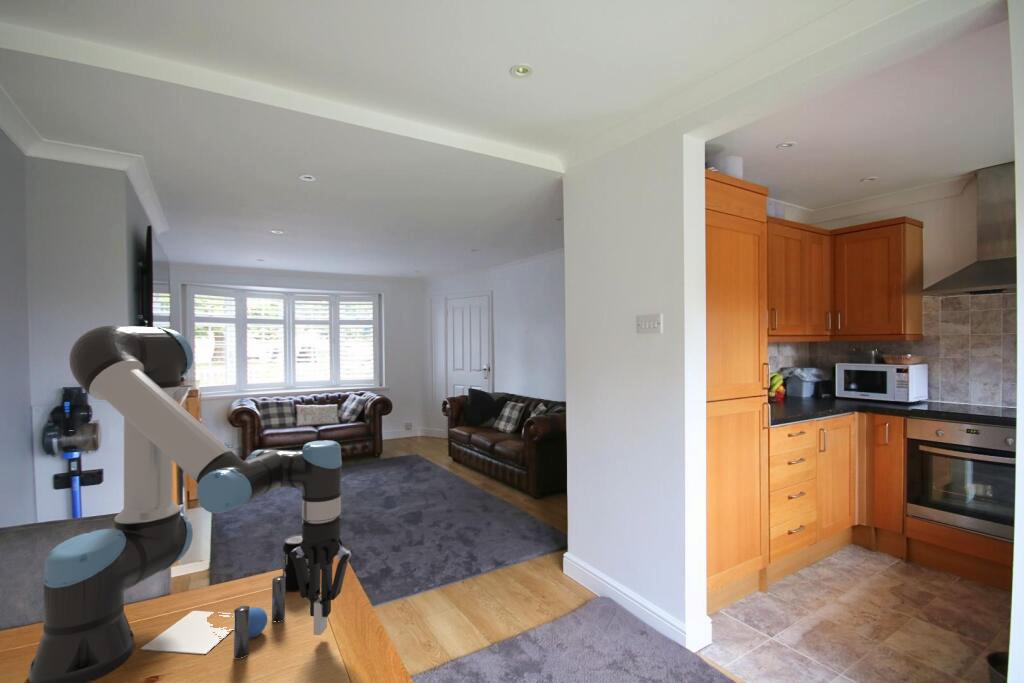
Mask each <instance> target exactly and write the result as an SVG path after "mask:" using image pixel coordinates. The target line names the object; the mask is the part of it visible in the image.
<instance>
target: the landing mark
mask: <svg viewBox="0 0 1024 683" xmlns="http://www.w3.org/2000/svg"><path fill="white" fill-rule="evenodd" d="M214 612H215V611H204V610H203V611H201V610H192V611H191V612H189V613H187V615H185V616H184V617H183V618H181V619H180V620H178V621H176V622H175V623H174V624H172V625H171V626H170V627H168V628H167V629H166V630H164V631H162V633H160V634H158V635H157V636H156V637H155V638H153V639H151V641H149V642H148V643H146V644H145V645H143V646H142V647H140V651H141V650H142V651H153V652H155V651H157V652H165V653H166V652H167V653H169V652H170V653H179V654H195V655H204V654H206V655H208V654H209V653H210V652H211V651H212V650H213V649H214V648H215V647H216V646H218V643H219V642H220V641H219V640H222V639H223V638H224V639H226V638H227V637H228V636H227V635H226V634H229V632H227V631H230V630H234V629H229V630H226V629H224V628H227V627H223V628H220V627H219V628H213V627H210V626H213V624H210V623H209V622H207V617H209V616H210V615H211V614H213V613H214ZM217 612H218V611H217ZM218 613H222V614H231V613H232V612H218ZM233 614H234V613H233ZM219 616H223V617H230V616H229V615H219ZM232 617H233V616H232ZM221 629H223V630H221ZM213 632H215V633H213ZM215 634H217V635H215ZM229 635H230V634H229ZM218 636H221V637H218ZM226 636H227V637H226ZM219 638H222V639H219ZM224 639H223V640H224ZM223 640H222V641H223ZM220 643H221V642H220ZM220 643H219V644H220ZM214 646H215V647H214ZM213 647H214V648H213ZM212 648H213V649H212ZM211 649H212V650H211ZM210 650H211V651H210Z"/></svg>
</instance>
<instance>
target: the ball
mask: <svg viewBox="0 0 1024 683" xmlns="http://www.w3.org/2000/svg"><path fill="white" fill-rule="evenodd" d="M267 623H268V614H267V612H266V611H265V610H264V609H263V608H261V607H251V608H250V609H249V639H251V638H254V637H257V636H258V635H260V634H261V633H262V632H263V631H264V630H265V628H266V626H267Z"/></svg>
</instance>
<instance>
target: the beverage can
mask: <svg viewBox="0 0 1024 683" xmlns="http://www.w3.org/2000/svg"><path fill="white" fill-rule="evenodd" d="M302 539H303V538H302V533H301V534H293V535H290V536H288V537H287V538H285V539H284V544H282V576H284V577H285V591H287V590H288V592H297V590H298V591H300V590H299V585H298V581H297V576H296V571H295V567H294V563H293V561H292V559H291V558H290V556H289V553H290V552H291V551H292V550H294V549H295V548H296V547H300V544H301V542H302ZM304 556H305V558H306V563H307V568H308V559H307V557H306V555H305V554H304ZM308 572H309V568H308Z"/></svg>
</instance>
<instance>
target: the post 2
mask: <svg viewBox="0 0 1024 683" xmlns="http://www.w3.org/2000/svg"><path fill="white" fill-rule="evenodd" d="M271 581H272V583H271V584H272V585H271V622H272V621H276V622H277V623H279V622H278V621H281V620H283V619H284V618H285V617H286V589H285V577H284V576H283V575H279V576H276V577H273V578H272V580H271ZM284 620H285V619H284ZM284 620H283V621H284ZM281 622H282V621H281Z"/></svg>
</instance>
